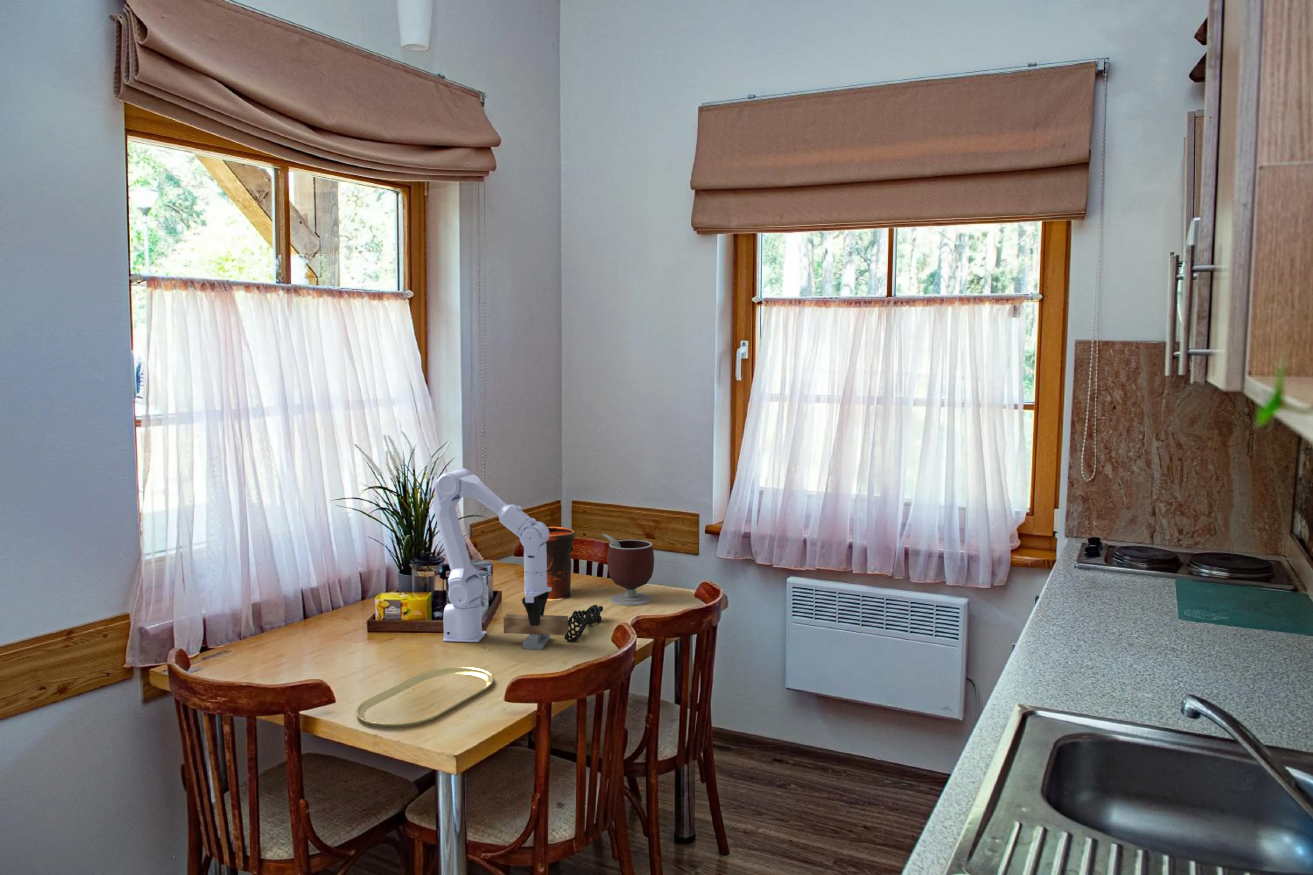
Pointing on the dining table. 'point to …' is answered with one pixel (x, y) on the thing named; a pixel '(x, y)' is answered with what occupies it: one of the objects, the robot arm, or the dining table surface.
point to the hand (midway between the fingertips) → (536, 622)
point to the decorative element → (583, 621)
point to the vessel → (559, 562)
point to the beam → (545, 627)
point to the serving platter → (415, 680)
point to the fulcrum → (535, 641)
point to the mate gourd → (630, 569)
